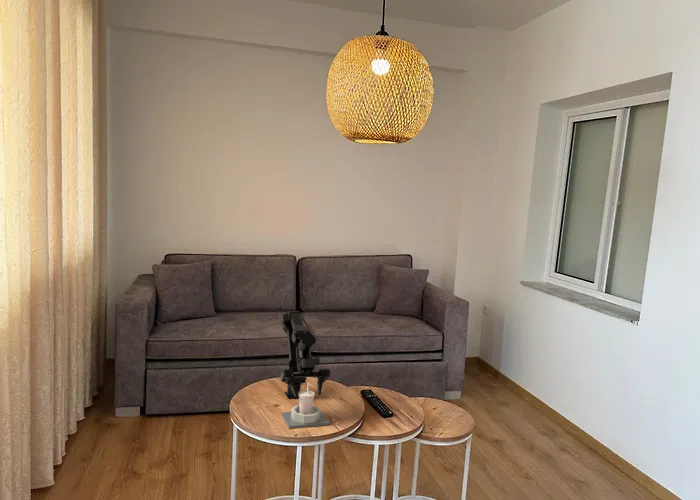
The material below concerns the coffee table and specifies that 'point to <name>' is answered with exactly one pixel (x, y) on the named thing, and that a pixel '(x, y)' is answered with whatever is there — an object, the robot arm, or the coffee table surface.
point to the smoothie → (306, 400)
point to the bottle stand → (304, 418)
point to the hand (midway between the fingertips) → (307, 395)
